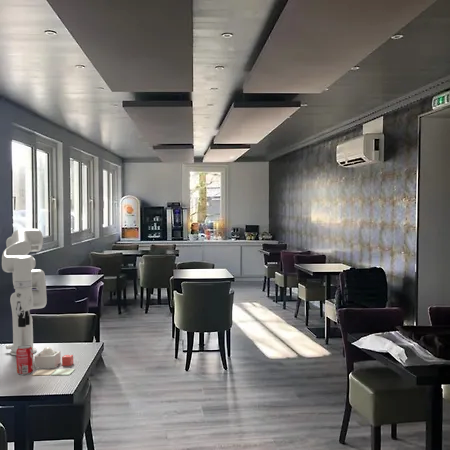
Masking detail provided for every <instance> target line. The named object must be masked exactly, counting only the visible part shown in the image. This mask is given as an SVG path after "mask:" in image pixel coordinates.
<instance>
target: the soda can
mask: <svg viewBox="0 0 450 450" xmlns="http://www.w3.org/2000/svg"><path fill="white" fill-rule="evenodd" d="M15 357H16V358H15V359H16V360H15V361H16V365H15V366H16V373H17V374H18V375H20V376H26V375H30V374H32V373H34V353H33V349H32V347H31V345H21V346H18V349H17V351H16V355H15Z"/></svg>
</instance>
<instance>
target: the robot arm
mask: <svg viewBox="0 0 450 450" xmlns="http://www.w3.org/2000/svg"><path fill="white" fill-rule="evenodd" d="M43 244H44V234H43V232H42V230H40V229H39V228H23V229H22V228H21V229H16V230H15V231H13V232H12V234H11V236H9V237H8V238H7V239H6V240H5V245H6V248H5V249H4V250H3V252H2V255H1V269H2V271H3V272H4V273H12V284H13V289H14V292H13V293H11V295H10V299H9V300H10V301H9V302H10V307H11V314H12V315H11V316H12V341H13V342H12V344H6V345H5V349H6V350H10V351H9V353H10V355H11V356H16V351H17V349H18V346H21V345H31V347H32V349H33V354H35V353H36V352H37V347H36V348H35V347H34V328H33V327H34V326H33V322H34V321H33V316H32V315H31V313H30V312H31V310H38V309H43V308H45V307H46V305H47V301H48V298H47V297H48V296H47V283H46V281H47V280H46V278H47V277H46V275H45V271H44V270H42V269H37V268H36V262H37V261H36V259H35V258H34V256H33V255H29V254H30V253H32V252H34V253H35V252H40V251H41V250H42V249H43ZM35 268H36V269H35Z"/></svg>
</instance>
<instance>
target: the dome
mask: <svg viewBox="0 0 450 450" xmlns="http://www.w3.org/2000/svg"><path fill="white" fill-rule="evenodd" d="M55 351H56V350H53V348H51V347H49V346H46V347H44V348H43V349H42V352H41V351H40V352H39V353H40V356H53V355H54V354H55Z"/></svg>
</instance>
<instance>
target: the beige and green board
mask: <svg viewBox="0 0 450 450" xmlns="http://www.w3.org/2000/svg"><path fill="white" fill-rule="evenodd" d="M75 370H76V369H75V368H67V369H66V368H63V369H61V368H60V369H59V368H58V369H55V368H42V369H37V370H36V371H35V372H33V373H31V376H32V377H39V376H41V377H42V376H45V377H46V376H47V377H49V376H51V377H52V376H70V375H71V374H73V373H74V372H75Z"/></svg>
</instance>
